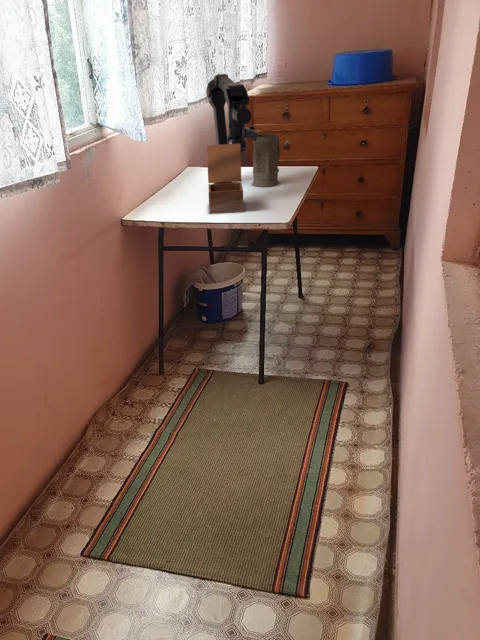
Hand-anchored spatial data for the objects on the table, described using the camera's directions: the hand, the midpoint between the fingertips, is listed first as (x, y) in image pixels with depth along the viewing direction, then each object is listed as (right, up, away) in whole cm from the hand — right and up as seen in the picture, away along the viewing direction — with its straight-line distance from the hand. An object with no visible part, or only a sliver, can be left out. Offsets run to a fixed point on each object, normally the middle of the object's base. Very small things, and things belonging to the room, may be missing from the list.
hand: (236, 163), depth 239 cm
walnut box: (-5, -20, -10) cm, 23 cm away
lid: (-6, -4, -11) cm, 13 cm away
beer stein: (+15, -1, +21) cm, 26 cm away
